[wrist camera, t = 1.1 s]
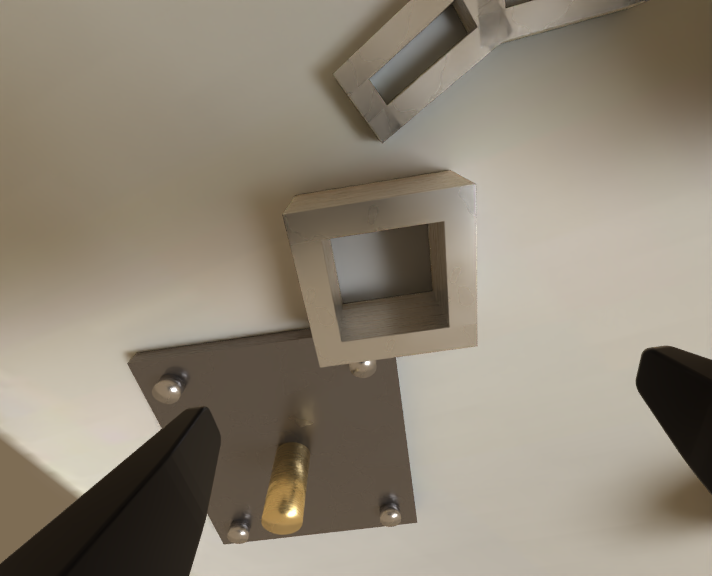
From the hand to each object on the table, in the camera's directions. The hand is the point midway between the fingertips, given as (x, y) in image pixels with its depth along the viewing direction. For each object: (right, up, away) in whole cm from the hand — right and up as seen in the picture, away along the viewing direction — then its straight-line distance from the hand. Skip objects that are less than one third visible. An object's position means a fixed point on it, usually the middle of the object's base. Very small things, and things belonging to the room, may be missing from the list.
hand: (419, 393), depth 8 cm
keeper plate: (-5, -6, +12) cm, 14 cm away
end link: (0, +4, +7) cm, 8 cm away
